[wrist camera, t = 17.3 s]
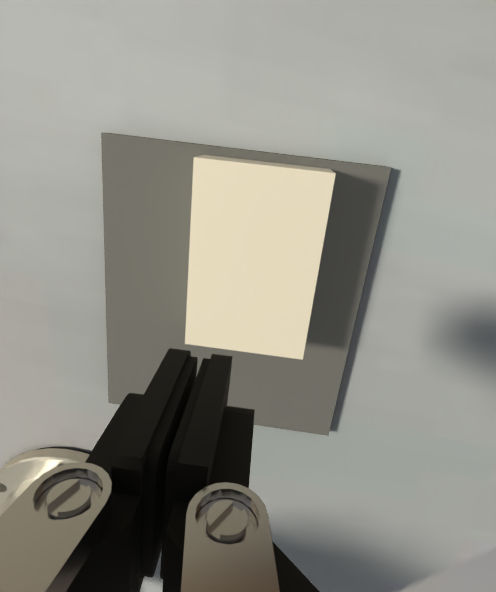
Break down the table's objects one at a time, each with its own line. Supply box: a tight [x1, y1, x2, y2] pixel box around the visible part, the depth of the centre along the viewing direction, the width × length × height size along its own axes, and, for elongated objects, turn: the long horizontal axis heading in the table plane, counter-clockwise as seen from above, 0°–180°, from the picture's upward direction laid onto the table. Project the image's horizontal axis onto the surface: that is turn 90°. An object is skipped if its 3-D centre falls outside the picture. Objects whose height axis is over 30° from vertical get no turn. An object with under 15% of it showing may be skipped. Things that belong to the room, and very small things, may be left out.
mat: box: [101, 133, 391, 436], centre depth 22 cm, size 16×14×1 cm
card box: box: [185, 155, 336, 360], centre depth 20 cm, size 9×3×6 cm
